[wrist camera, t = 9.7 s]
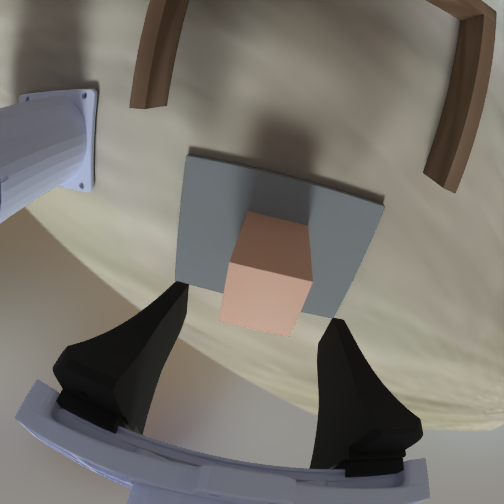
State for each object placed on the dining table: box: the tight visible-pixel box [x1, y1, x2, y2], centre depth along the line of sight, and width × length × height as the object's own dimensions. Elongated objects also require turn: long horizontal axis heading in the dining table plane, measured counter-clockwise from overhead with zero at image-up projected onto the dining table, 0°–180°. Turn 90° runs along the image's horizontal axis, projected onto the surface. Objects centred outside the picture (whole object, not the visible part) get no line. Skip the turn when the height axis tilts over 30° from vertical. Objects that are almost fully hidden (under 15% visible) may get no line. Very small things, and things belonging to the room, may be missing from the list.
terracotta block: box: [219, 211, 313, 337], centre depth 17 cm, size 4×4×6 cm
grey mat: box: [175, 154, 385, 318], centre depth 20 cm, size 13×10×1 cm
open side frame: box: [129, 0, 496, 193], centre depth 11 cm, size 19×13×3 cm
